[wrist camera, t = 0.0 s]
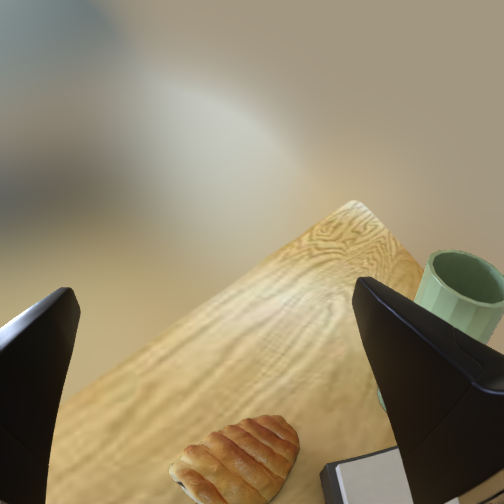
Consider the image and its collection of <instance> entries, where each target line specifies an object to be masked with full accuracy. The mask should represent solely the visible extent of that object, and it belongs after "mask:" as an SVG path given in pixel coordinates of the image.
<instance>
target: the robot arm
mask: <svg viewBox="0 0 504 504" xmlns="http://www.w3.org/2000/svg"><path fill="white" fill-rule="evenodd" d="M352 306H353V310H354V313H355V317H356V321H357V324H358V328H359V332H360V336H361V340H362V343H363V346H364V349H365V352H366V355H367V357H368V360H369V363H370V365H371V368H372V371H373V374H374V376H375V379H376V382H377V385H378V388H379V390H380V393H381V396H382V399H383V402H384V405H385V408H386V411H387V414H388V417H389V420H390V423H391V426H392V429H393V433H394V436H395V439H396V442H397V446H398V449H399V452H400V456H401V459H402V463H403V467H404V470H405V474H406V477H407V481H408V485H409V489H410V492H411V496H412V500H413V504H445V503H447V502H449V501H451V500H453V499H455V498H458V501H459V504H504V355H503V354H501V353H499V352H497V351H495V350H494V349H492V348H490V347H488V346H486V345H485V344H483V343H481V342H479V341H477V340H476V339H474V338H472V337H471V336H469V335H467V334H466V333H464V332H462V331H461V330H459V329H458V328H456V327H453V325H451V324H449V323H448V322H446V321H445V320H443V319H441V318H440V317H438V316H436V315H435V314H433V313H431V312H430V311H428V310H426V309H425V308H423V307H421V306H420V305H418V304H416V303H415V302H413V301H411V300H410V299H408V298H406V297H405V296H403V295H401V294H400V293H398V292H396V291H394V290H393V289H391V288H389V287H388V286H386V285H384V284H382V283H381V282H379V281H377V280H375V279H374V278H372V277H359V278H358V279H357V281H356V284H355V289H354V293H353V297H352ZM80 313H81V312H80V306H79V304H78V301H77V299H76V296H75V294H74V291H73V290H72V288H69V287H61V288H59V289H58V290H56V291H54V292H53V293H51V294H50V295H48V296H47V297H45V298H44V299H42V300H41V301H39V302H38V303H36V304H35V305H33V306H32V307H30V308H29V309H27V310H26V311H24V312H23V313H21V314H20V315H19V316H17V317H16V318H14V319H13V320H12V321H10V322H9V323H7V324H6V325H4V326H3V327H2V328H0V504H45V501H46V487H47V477H48V468H49V465H48V464H49V459H50V452H51V445H52V439H53V433H54V428H55V423H56V418H57V413H58V408H59V403H60V399H61V395H62V390H63V386H64V382H65V379H66V375H67V371H68V367H69V363H70V360H71V356H72V352H73V347H74V343H75V337H76V332H77V328H78V323H79V319H80Z"/></svg>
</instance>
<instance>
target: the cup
mask: <svg viewBox="0 0 504 504" xmlns="http://www.w3.org/2000/svg"><path fill="white" fill-rule="evenodd" d="M414 302H415V303H416V304H418V305H420V306H421V307H423V308H425V309H426V310H428V311H430V312H431V313H433V314H435V315H436V316H438V317H440V318H441V319H443V320H445V321H446V322H448V323H449V324H451V325H453V327H456V328H458V329H459V330H461V331H462V332H464V333H466V334H467V335H469V336H471V337H472V338H474V339H476V340H477V341H479V342H481V343H483V344H485V345H486V344H487V343H488V341H489V339H490V338H491V336H492V334H493V332H494V330H495V329H496V327H497V325H498V323H499V322H500V320H501V318H502V316H503V314H504V275H503V274H502V273H501V272H500V271H499V270H498V269H496V268H495V267H494V266H493V265H491V264H490V263H488V262H487V261H485V260H483V259H482V258H479V257H477V256H475V255H472V254H470V253H467V252H463V251H458V250H453V249H449V250H438V251H436V252H434V253H432V254H431V255H430V257H429V259H428V261H427V264H426V268H425V271H424V274H423V277H422V280H421V283H420V286H419V289H418V291H417V294H416V297H415V300H414ZM377 391H378V398H379V401H380V403H381V405H382V407H383V408H384V410H385V411H386V408H385V405H384V402H383V399H382V396H381V393H380V390H379V388H378V389H377ZM386 412H387V411H386Z"/></svg>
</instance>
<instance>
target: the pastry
mask: <svg viewBox="0 0 504 504" xmlns="http://www.w3.org/2000/svg"><path fill="white" fill-rule="evenodd" d="M299 450H300V445H299V439H298V435H297V432H296V431H295V430H294V429H293V428H292V427H291V426H290V425H289V424H288V423H287V422H286V420H285V419H284V418H283V417H281V416H279V415H273V416H269V415H263V416H259V417H257V418H253V419H250V418H247V419H244V420H242V421H240V422H239V423H238V424H236V425H228V426H226V427H224V428H223V429H222V430H221V431H219V432H212V433H210V434H209V435H208V436H207V437H206V438H205V440H204V441H202V442H200V443H199V445H190V446H188V447H187V448H185V449H184V451H183V454H182V455H181V457H180V458H179V460H177V461H176V462H175V463H172V464H171V465H170V467H169V472H170V475H171V477H172V478H173V479H174V480H175V482H177V483H178V484H180V485H181V488H182V489H183V491H184V492H185V493H186V494H187V495H188V496H190V497H191V498H192V499H193V500H194V501H196V502H197V503H198V504H268V503H269V502H270V500H271V499H272V498H273V497H274V496H275V495H276V494H277V493H278V492H279V491H280V490H281V487H282V485H283V484H284V482H285V481H286V478H287V476H288V473H289V471H290V470H291V468H292V466H293V464H294V462H295V459H296V457H297V454H298V452H299Z"/></svg>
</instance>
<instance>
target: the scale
mask: <svg viewBox="0 0 504 504" xmlns="http://www.w3.org/2000/svg"><path fill="white" fill-rule="evenodd" d="M320 478H321V482H322V487H323V492H324V497H325V502H326V504H413V500H412V496H411V492H410V489H409V485H408V481H407V477H406V474H405V470H404V467H403V463H402V459H401V456H400V452H399V449H398V446H394V447H391V448H387V449H384V450H381V451H377V452H374V453H370V454H366V455H362V456H359V457H354V458H350V459H346V460H341V461H337V462H332V463H327V464H326V465H325V467H324V468H323V470H322V471H321V473H320ZM445 504H459V501H458V498H455V499H453V500H451V501H449V502H447V503H445Z"/></svg>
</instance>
